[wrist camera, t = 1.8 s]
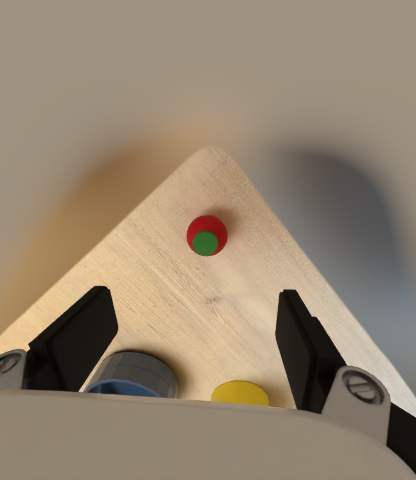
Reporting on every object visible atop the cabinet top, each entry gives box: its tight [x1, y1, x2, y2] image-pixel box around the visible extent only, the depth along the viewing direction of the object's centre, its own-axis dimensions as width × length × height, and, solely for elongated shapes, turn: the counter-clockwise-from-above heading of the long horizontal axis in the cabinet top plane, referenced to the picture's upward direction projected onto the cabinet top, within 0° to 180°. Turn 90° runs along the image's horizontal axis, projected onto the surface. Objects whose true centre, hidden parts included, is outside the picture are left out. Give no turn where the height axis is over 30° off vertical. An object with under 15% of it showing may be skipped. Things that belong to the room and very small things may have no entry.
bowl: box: [82, 352, 178, 399], centre depth 32 cm, size 14×14×5 cm
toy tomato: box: [187, 216, 227, 256], centre depth 22 cm, size 5×5×5 cm
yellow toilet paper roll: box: [211, 381, 270, 406], centre depth 30 cm, size 10×10×9 cm
